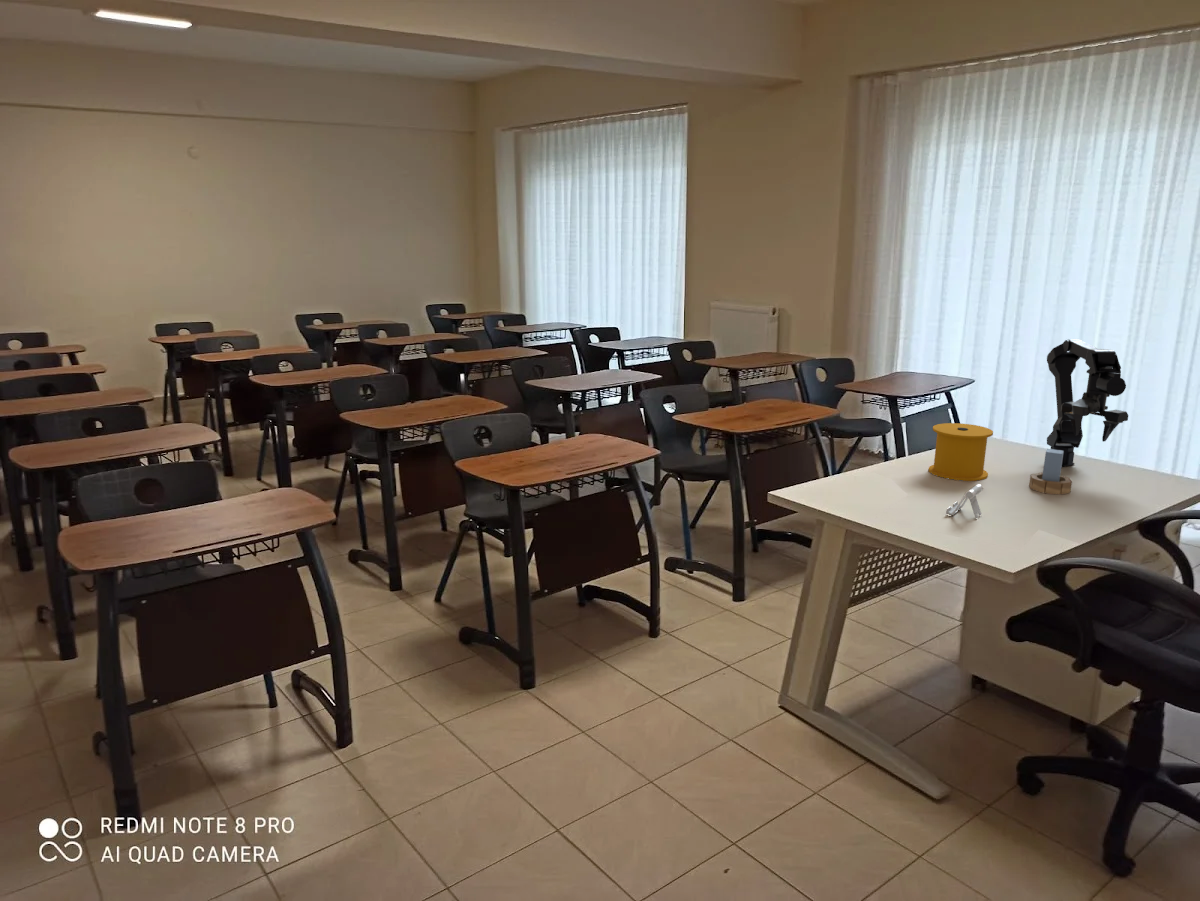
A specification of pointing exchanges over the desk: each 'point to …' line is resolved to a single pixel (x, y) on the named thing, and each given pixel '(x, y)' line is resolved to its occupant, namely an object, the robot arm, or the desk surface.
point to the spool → (960, 451)
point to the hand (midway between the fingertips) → (1089, 438)
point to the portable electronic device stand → (969, 495)
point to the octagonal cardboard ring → (1050, 484)
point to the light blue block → (1052, 465)
